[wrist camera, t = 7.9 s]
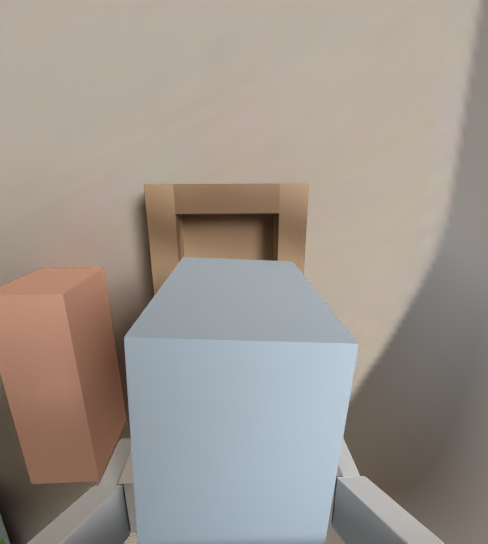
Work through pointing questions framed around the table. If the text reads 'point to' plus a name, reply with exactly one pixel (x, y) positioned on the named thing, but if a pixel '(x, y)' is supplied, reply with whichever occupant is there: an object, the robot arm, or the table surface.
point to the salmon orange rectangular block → (61, 372)
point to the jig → (225, 223)
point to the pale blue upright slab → (236, 405)
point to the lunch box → (3, 533)
